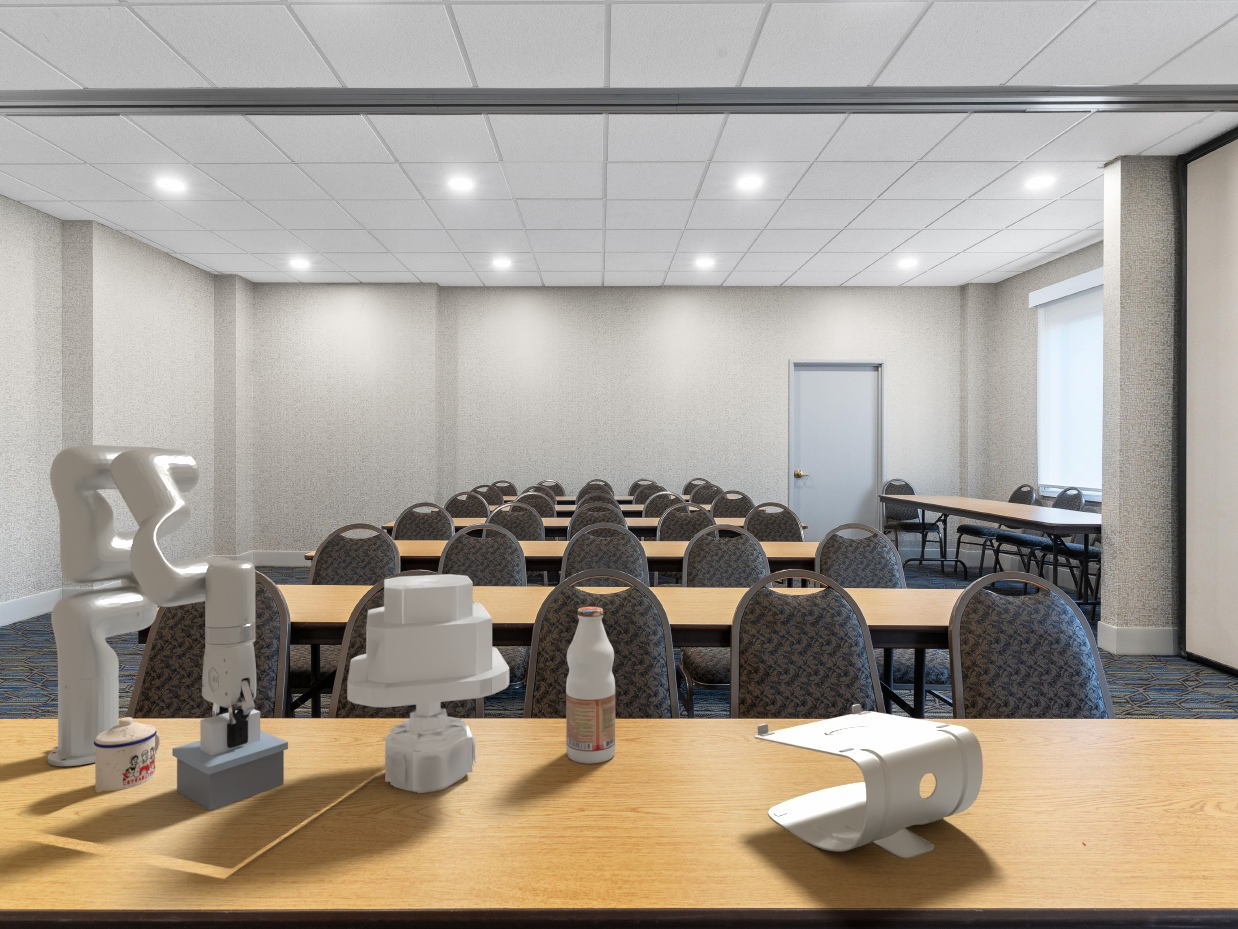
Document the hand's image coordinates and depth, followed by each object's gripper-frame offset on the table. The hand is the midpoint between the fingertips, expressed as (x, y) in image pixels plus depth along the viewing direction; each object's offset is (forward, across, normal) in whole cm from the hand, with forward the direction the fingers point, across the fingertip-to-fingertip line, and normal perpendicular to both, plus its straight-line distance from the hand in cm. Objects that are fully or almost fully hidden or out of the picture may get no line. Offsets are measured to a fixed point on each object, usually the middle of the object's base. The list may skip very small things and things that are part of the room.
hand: (230, 741), depth 123 cm
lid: (+2, 0, 0) cm, 2 cm away
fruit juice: (+9, +39, +49) cm, 63 cm away
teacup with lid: (+9, -19, -8) cm, 23 cm away
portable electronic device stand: (+9, +90, +53) cm, 105 cm away
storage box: (+9, 0, 0) cm, 9 cm away
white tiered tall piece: (+9, +22, +24) cm, 34 cm away
